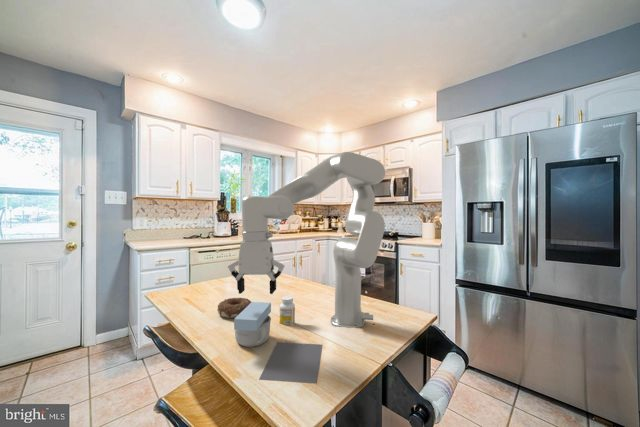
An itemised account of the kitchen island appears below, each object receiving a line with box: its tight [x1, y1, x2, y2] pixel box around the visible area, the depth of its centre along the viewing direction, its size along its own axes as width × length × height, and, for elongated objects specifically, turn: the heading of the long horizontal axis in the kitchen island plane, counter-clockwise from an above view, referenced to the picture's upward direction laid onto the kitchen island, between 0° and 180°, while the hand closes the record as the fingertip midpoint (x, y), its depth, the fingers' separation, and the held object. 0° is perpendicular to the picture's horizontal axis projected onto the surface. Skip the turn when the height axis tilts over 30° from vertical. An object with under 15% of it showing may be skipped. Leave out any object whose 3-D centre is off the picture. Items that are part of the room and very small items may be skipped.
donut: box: [217, 297, 252, 319], centre depth 106 cm, size 14×14×5 cm
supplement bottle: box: [279, 295, 296, 326], centre depth 96 cm, size 5×5×10 cm
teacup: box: [234, 314, 272, 348], centre depth 81 cm, size 14×11×8 cm
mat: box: [259, 341, 323, 384], centre depth 72 cm, size 14×18×1 cm
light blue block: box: [233, 301, 272, 331], centre depth 81 cm, size 6×14×3 cm, turn 174°
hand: (256, 292), depth 81 cm, fingers open, 9 cm apart
